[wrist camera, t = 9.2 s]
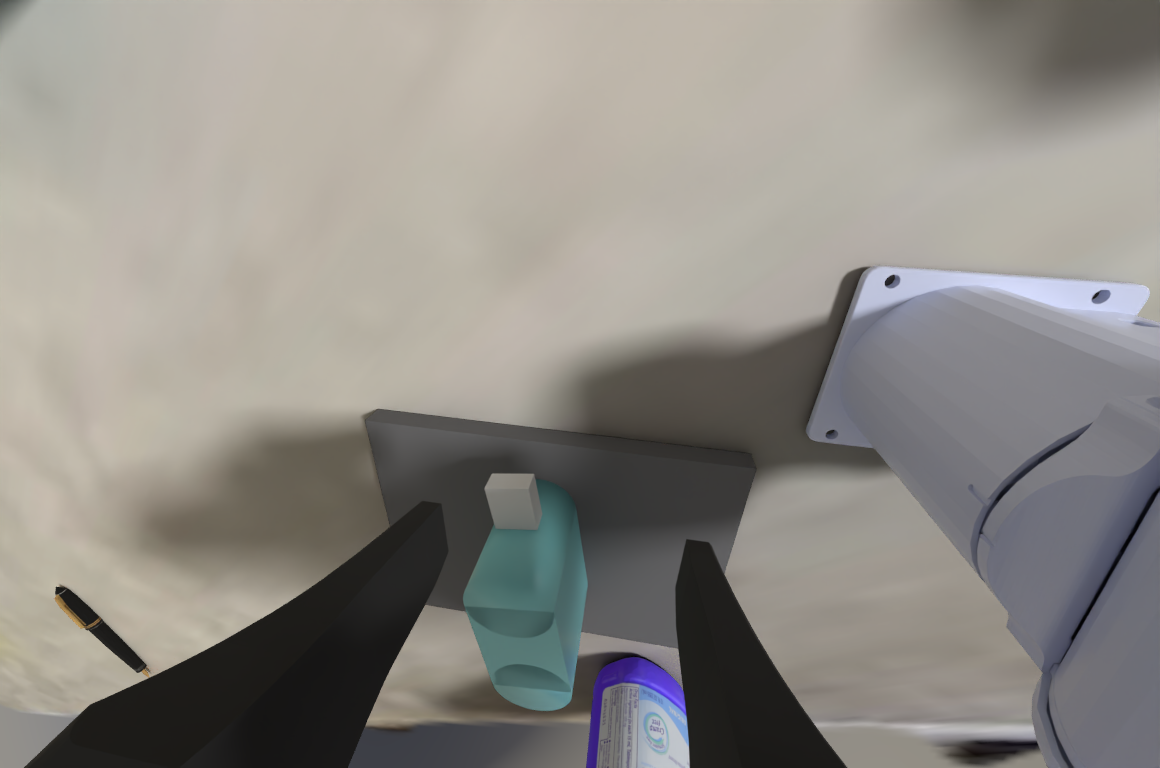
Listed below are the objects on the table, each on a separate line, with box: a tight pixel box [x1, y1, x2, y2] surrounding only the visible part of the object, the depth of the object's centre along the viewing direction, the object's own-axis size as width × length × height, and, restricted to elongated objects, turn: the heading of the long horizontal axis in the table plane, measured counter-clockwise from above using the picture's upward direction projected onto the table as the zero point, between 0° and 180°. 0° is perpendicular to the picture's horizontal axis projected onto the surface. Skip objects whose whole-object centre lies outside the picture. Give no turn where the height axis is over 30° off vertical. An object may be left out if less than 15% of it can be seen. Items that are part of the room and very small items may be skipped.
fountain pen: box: [55, 587, 150, 678], centre depth 40 cm, size 14×1×2 cm, turn 9°
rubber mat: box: [365, 409, 756, 648], centre depth 25 cm, size 20×15×1 cm
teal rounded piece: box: [463, 474, 588, 711], centre depth 21 cm, size 4×12×6 cm, turn 6°
